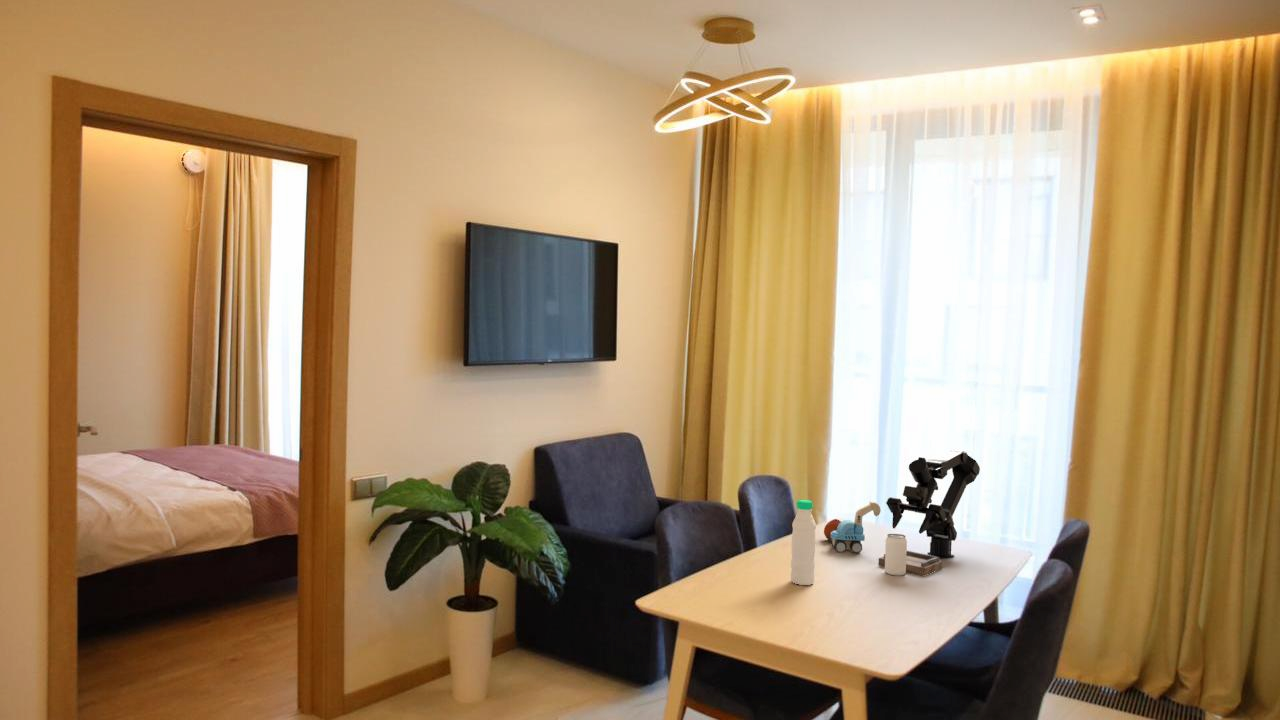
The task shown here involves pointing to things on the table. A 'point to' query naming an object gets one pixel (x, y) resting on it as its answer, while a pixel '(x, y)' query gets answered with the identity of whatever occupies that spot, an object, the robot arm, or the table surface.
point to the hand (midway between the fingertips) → (906, 530)
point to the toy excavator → (852, 530)
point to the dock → (918, 563)
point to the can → (895, 554)
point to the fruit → (831, 528)
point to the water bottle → (803, 545)
